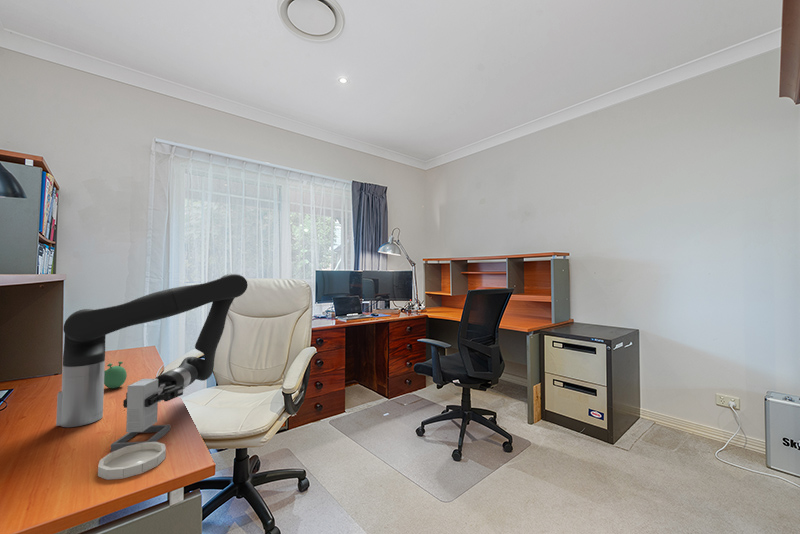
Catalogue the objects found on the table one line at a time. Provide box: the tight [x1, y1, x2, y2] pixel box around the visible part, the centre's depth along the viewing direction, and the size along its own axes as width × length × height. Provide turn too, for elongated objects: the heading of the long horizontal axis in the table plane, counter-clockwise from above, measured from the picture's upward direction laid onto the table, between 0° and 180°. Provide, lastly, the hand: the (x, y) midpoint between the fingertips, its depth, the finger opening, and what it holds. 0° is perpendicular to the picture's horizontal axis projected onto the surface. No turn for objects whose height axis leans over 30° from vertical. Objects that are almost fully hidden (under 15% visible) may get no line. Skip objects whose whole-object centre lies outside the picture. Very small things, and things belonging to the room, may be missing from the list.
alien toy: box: [104, 360, 127, 390], centre depth 130 cm, size 7×8×10 cm
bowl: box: [97, 441, 167, 480], centre depth 77 cm, size 12×12×2 cm
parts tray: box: [110, 424, 171, 452], centre depth 88 cm, size 8×10×2 cm
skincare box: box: [125, 378, 159, 433], centre depth 88 cm, size 6×4×12 cm
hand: (136, 403), depth 86 cm, fingers closed on skincare box, 4 cm apart
